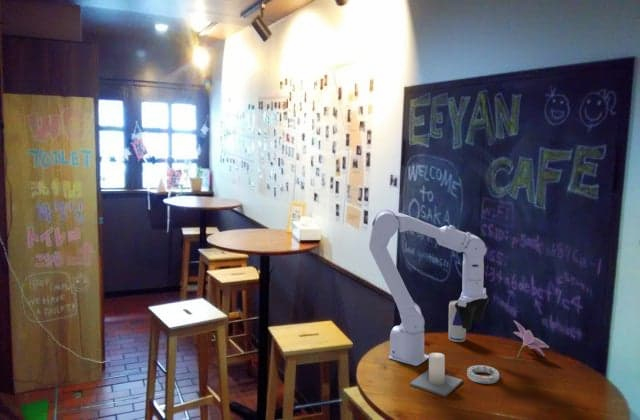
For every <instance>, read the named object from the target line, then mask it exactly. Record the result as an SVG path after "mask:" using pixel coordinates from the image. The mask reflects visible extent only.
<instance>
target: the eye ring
mask: <svg viewBox="0 0 640 420" xmlns="http://www.w3.org/2000/svg"><path fill="white" fill-rule="evenodd" d="M466 369H467V371H466V372H467V373H466V375H467V378H468V379H469V380H471V381H472V382H474V383H478V384H483V385H484V384H488V385H490V384H495V383H497V382H498V381H499V380H500V373H499V371H498V370H497V369H496V368H494V367H492V366H489V365H483V364H482V365H481V364H480V365H479V364H476V365H471V366H469V367H468V368H466ZM476 373H485V374H489V375H480V374H476Z"/></svg>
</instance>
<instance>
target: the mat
mask: <svg viewBox="0 0 640 420" xmlns="http://www.w3.org/2000/svg"><path fill="white" fill-rule="evenodd" d="M463 381H464V380H463V379H462V378H458V377H454V376H451V375H448V374H445V383H444V384H442V385H434V384H431V383H430V382H429V369H428V370H426V371H424V372H423V373H422V374H420V375H419V376H417V377H416V378H415V379H413V380H412V381H411V382H410V383H409V386H411V387H414V388H417V389H421V390H423V391H427V392H431V393H433V394H436V395H440V396H443V397H447V396H448V395H449V394H450V393H452V392H453V391H455V389H456V388H457V387H458V386H460V385H461V384H462V383H463Z"/></svg>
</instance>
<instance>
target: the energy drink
mask: <svg viewBox="0 0 640 420" xmlns="http://www.w3.org/2000/svg"><path fill="white" fill-rule="evenodd" d="M457 302H458V299H457V300H451V301H449V304H448V336H447V337H448V339H449V341H451V342H454V343H463V342H465V341H466V340H467V329H464V328H463V327H462V324H461V319H460V316H459V313H458V311H457V309H456V308H455V303H457Z"/></svg>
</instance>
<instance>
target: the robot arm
mask: <svg viewBox="0 0 640 420" xmlns="http://www.w3.org/2000/svg"><path fill="white" fill-rule="evenodd" d="M407 231H413V232H414V233H418V234H420V235H423V236H427V237H430V238H433V239H435V240H436V242H437V245H439V246H442V247H444V248H446V249H447V248H448V249H450V250H452V251H455V252H458V253H462V254H463V258H462V284H461V287H462V289H461V290H462V291H461V294H460V297H459V298H458V299H457V301H458V302H457V303H455V308H456V309H457V311H458V313H459V316H460V319H461V324H462V327H463V328H464V329H466V330H471V328H472V324H473V321H474V322H477V323H478V322H479V323H481V322H482V321H483V317H484V313H485V309H486V306H487V305H488V303H489V301H490V296H488V295H487V288H486V287H484V280H485V279H484V277H485V276H484V274H485V273H484V272H485V271H484V270H485V267H484V265H485V263H484V258H485V255H486V253H487V250H488V248H487V246H486V244H485V242H484V240H482V239H481V238H480V237H479V236H477V235H475V234H474V233H471V232H469V231H466V232H464V231H461V230H459V229H457V228H456V227H455V226H454V225H452V224H449V226H448V225H444V226H441V227H437V226H435V225H433V224H431V223H428V222H426V221H422V220H421V219H418V218H415V217H412V216H410V215H409V214H408V215H407V214H404V213H401V212H397V211H394V212H393V211H392V210H390V209H382V210H379V212H377V213H376V215H375V217H374V219H373V221H372V223H371V230H370V237H369V243H368V248H369V251H370V253H371V255H372V258H373V260H374V261H375V263H376V265H377V267H378V269H379V272H380V275H382V278H383V280H384V282H385V283H386V286H387V288H388V289H389V292H390V294H391V296H392V298H393V301H394V303H395V304H396V306H397V309H398V312H399V316H400V319H401V323H400V325H395V326H394V327H393V328H392V329H391V331H390V334H389V356H388V359H390V360H394V361H397V362H401V363H405V364H409V365H412V366H414V367H418V366H420V365H421V364H422V363H424V362H425V361H426V360H429V354H426V353H425V318H424V315H423V314H422V310H421V307H420V306H419V305H418V304H417V303H415V301H414V300H413V298H412V297H411V295H410V293H409V291H408V289H407V287H406V284H405V283H404V280H403V279H402V277H401V274H400V272H399V271H398V268H397V266H396V265H395V264H396V263H395V262H394V260H393V258H392V256H391V254H390V252H389V249H388V245H389V242H390V240H391V239H392V237H393V236H395V234H396V233H397V232H399V233H403V232H407Z"/></svg>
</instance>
